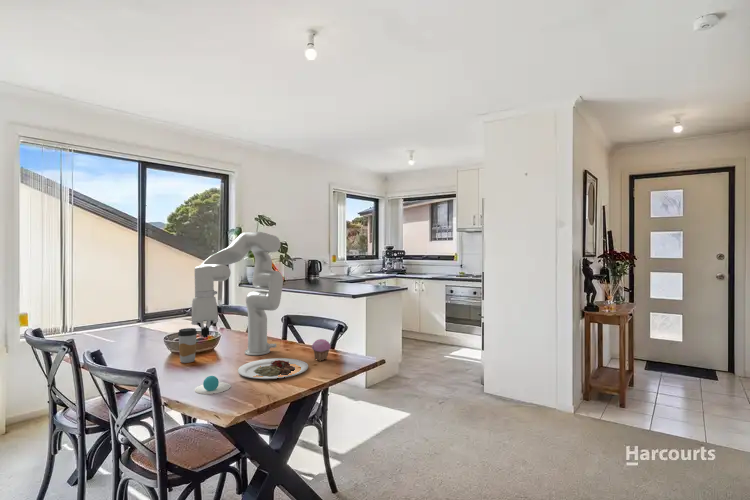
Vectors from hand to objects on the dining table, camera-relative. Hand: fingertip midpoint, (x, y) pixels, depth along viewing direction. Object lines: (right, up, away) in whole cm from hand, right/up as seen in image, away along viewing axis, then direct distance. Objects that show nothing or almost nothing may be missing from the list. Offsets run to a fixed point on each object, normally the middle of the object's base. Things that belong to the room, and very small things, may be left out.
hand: (205, 336), depth 181 cm
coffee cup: (-16, -16, +18) cm, 29 cm away
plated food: (+29, -16, +4) cm, 33 cm away
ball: (+11, -13, -22) cm, 28 cm away
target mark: (+11, -16, -19) cm, 27 cm away
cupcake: (+47, -16, +21) cm, 54 cm away
